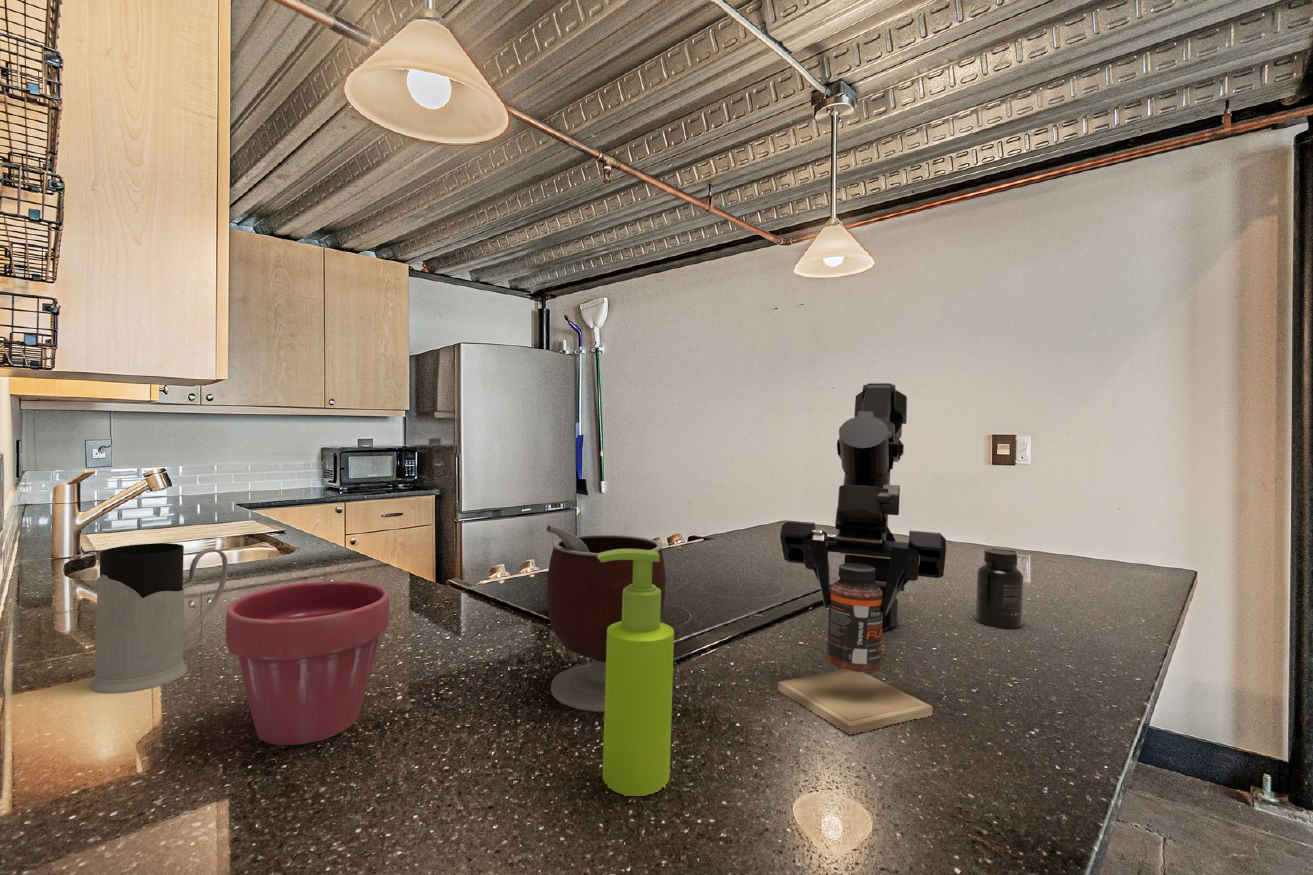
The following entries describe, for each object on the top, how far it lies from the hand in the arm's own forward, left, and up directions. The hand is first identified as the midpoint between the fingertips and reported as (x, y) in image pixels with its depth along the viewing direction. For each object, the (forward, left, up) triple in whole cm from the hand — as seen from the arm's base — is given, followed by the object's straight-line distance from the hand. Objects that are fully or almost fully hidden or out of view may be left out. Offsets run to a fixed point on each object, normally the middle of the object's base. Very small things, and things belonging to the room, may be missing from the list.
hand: (854, 609), depth 70 cm
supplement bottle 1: (-1, +1, -7) cm, 7 cm away
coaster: (0, +1, -11) cm, 11 cm away
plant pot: (-35, -45, -11) cm, 59 cm away
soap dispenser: (-6, -28, -11) cm, 31 cm away
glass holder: (-61, -53, -11) cm, 82 cm away
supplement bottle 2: (+2, +50, -11) cm, 51 cm away
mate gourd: (-22, -18, -11) cm, 31 cm away
